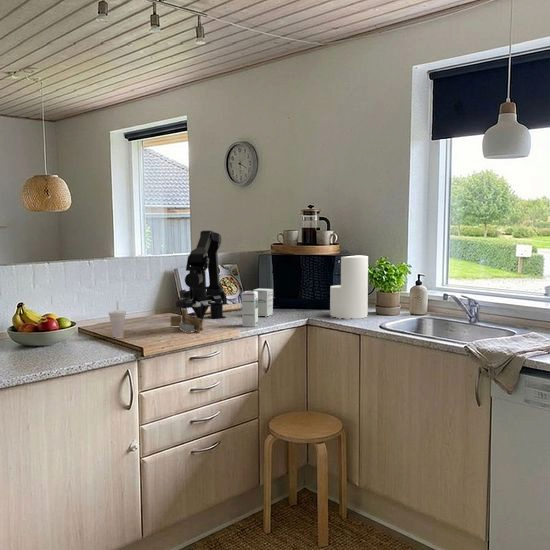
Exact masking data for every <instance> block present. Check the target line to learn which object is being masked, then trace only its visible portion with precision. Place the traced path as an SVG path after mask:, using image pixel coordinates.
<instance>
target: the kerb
mask: <svg viewBox="0 0 550 550" xmlns="http://www.w3.org/2000/svg"><path fill="white" fill-rule="evenodd" d="M179 328H181V329H182V330H184V331H186V332H191V331H194V332H195V330H194V325H192V324H190V323H187V322H182V321H181V323H179ZM179 328H178V329H179ZM184 331H183V332H184ZM186 332H185V333H186Z"/></svg>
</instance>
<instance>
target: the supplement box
mask: <svg viewBox="0 0 550 550" xmlns="http://www.w3.org/2000/svg"><path fill="white" fill-rule="evenodd" d="M252 291H258V316H265V317H264V318H268V317H267V316H269V315H272V314H273V313H274V310H273V308H274V306H273V305H274V289H273V288H256V289H253V290H252ZM272 316H273V315H272ZM269 317H270V316H269Z"/></svg>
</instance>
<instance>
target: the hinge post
mask: <svg viewBox="0 0 550 550" xmlns="http://www.w3.org/2000/svg"><path fill="white" fill-rule="evenodd" d="M181 313H182V314H181V315H180V314H179V315H170V327H171V326H179V323H181V322H186V319H185V315H188V309H182V310H181Z"/></svg>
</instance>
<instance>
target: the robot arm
mask: <svg viewBox="0 0 550 550" xmlns="http://www.w3.org/2000/svg"><path fill="white" fill-rule="evenodd" d="M221 244H222V234H220V233H218V232H214V231H212V230H202V231H200V237H199V240H198V242H197V245H196V247H195V249H192V250H191V251H190V253H189V254H188V257H187V261H186V267H185V271H187V272H189V273H187V274H186V275H185V276H184V283H185V285H186V286H187V287H189V288H188V289H189V290H186V289H181V290H180V291H179V296H180V299H177V301H176V303H175V304H176V306H175V307H176V308H179V309H180V308H181V309H190V308H191V309H192V310H193V312H194V313H195V317H197V318H200V319H202V320H203V321H204V317H205V316H206V315H205V314H206V313H207V311H208V309H209V312H210V315H207V318H211V319H213V320H215V319H224V318H226V316H225V315H224V314H223V313H224V311H223V310H224V308H223V306H225V305H227V304H228V299H227V294H226V292H225V291H224V286H223V285H222V283H221V282H220V272H219V271H220V270H219V257H218V255H219V254H218V251H219V249H220V247H221ZM207 270H208V281H209V283H208V284H209V285H208V286H207V281H206V280H207V277H206V276H207V275H206V273H207V272H206V271H207Z"/></svg>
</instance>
